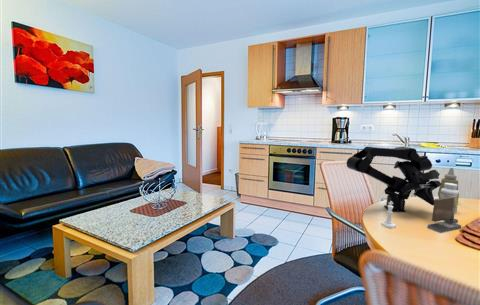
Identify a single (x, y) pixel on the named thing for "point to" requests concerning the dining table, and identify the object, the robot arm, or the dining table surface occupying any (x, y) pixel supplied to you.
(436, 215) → the walnut gate
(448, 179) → the squeeze bottle
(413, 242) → the dining table surface
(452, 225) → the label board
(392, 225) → the chess piece
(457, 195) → the supplement bottle
